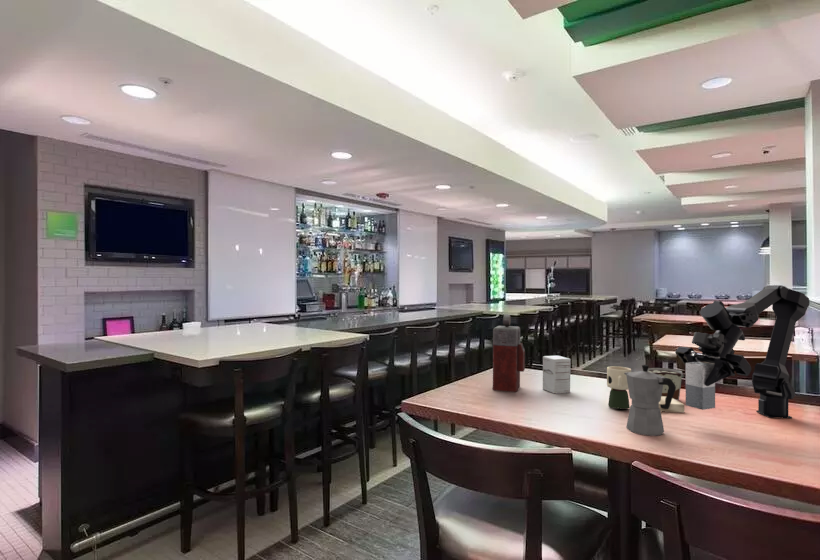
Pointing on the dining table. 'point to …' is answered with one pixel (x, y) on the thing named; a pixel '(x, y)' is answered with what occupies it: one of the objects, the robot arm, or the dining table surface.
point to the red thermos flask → (507, 357)
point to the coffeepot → (647, 401)
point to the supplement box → (556, 374)
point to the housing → (699, 386)
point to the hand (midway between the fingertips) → (696, 383)
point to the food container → (673, 375)
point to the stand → (672, 405)
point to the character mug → (618, 387)
